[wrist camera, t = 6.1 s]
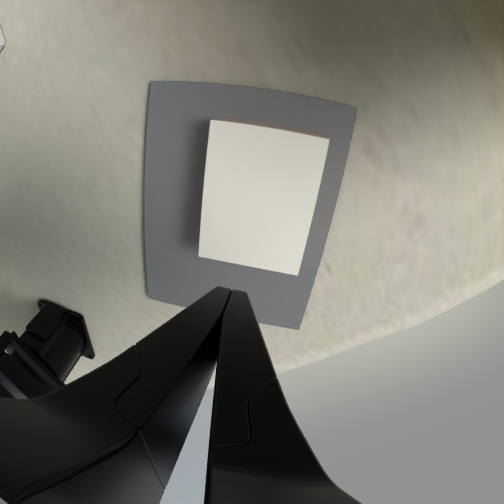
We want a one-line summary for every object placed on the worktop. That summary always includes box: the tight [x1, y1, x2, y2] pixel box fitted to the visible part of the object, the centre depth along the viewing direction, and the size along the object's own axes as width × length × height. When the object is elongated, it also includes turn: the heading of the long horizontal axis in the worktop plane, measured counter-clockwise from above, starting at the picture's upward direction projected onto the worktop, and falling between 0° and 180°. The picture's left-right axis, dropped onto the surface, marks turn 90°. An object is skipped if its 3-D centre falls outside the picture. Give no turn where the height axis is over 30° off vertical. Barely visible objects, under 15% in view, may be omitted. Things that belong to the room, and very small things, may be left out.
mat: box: [144, 81, 357, 330], centre depth 19 cm, size 16×12×1 cm
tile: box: [198, 118, 329, 276], centre depth 17 cm, size 8×2×6 cm
